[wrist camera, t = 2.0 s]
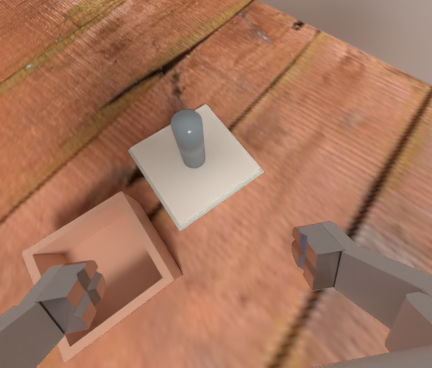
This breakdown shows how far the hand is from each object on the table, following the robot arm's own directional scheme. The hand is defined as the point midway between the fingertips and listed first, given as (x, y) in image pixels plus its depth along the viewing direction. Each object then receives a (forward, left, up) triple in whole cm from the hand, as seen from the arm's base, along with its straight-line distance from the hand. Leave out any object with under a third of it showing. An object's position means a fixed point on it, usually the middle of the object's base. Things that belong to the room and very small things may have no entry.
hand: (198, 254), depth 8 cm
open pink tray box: (-5, -9, -18) cm, 21 cm away
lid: (-11, +6, -17) cm, 21 cm away
